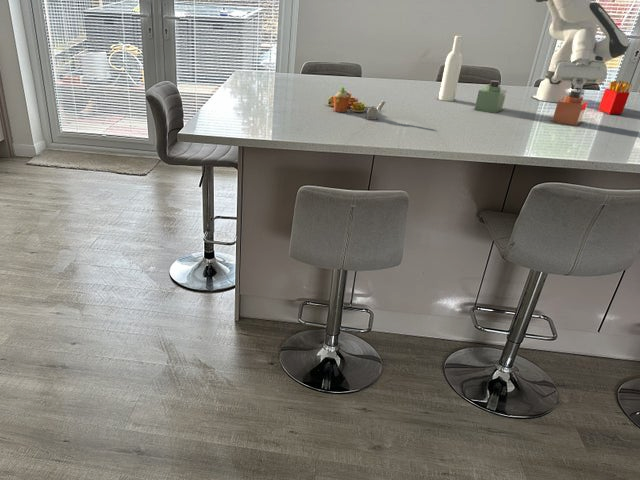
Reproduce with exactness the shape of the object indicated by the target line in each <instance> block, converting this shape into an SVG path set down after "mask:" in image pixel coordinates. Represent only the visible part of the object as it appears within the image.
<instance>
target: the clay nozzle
mask: <svg viewBox="0 0 640 480" xmlns="http://www.w3.org/2000/svg"><path fill="white" fill-rule="evenodd" d="M570 92H571V93H570V96H569V97H576V98H579V97H580V96H581V94H582V91H581V90H578V91H577V90H571V91H570Z"/></svg>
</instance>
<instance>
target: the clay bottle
mask: <svg viewBox="0 0 640 480" xmlns="http://www.w3.org/2000/svg"><path fill="white" fill-rule="evenodd" d="M569 96H570V95H566V96H565V98H563V99H561V100H559V101H558V102H556V106H555V110H554V113H553V115H552V116H553V117H552V120H551V123H557V124H562V125H569V126H578V125H579V124H580V123H581V122H582V120H583V117H584V114H585V111H586V108H587V105H588V102H589V101H588V100H584V96H581V95H580V97H579V98H576V97H569Z"/></svg>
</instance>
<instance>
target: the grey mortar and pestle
mask: <svg viewBox="0 0 640 480" xmlns="http://www.w3.org/2000/svg"><path fill="white" fill-rule="evenodd" d="M385 104H386V101H385V100H383V99H382V100H381V101H380V103H379V104H378V106H377V107H376V106H375V105H374V106H373V105H371V106H369V107H368V108H367V113H366V120H377V117H378V111H381V110H382V109H383V107H384V105H385Z"/></svg>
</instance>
